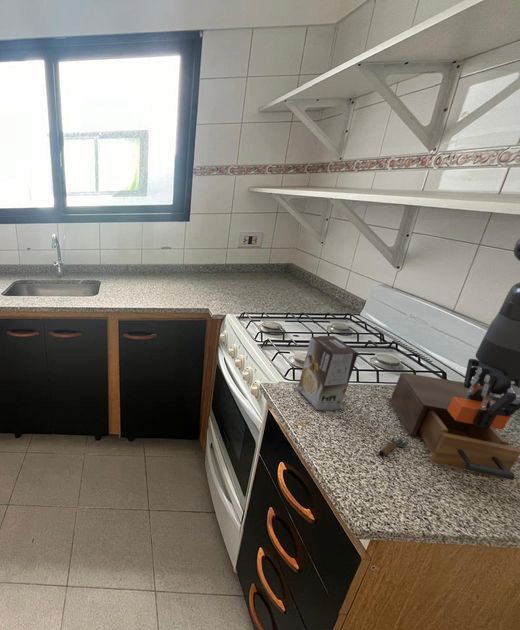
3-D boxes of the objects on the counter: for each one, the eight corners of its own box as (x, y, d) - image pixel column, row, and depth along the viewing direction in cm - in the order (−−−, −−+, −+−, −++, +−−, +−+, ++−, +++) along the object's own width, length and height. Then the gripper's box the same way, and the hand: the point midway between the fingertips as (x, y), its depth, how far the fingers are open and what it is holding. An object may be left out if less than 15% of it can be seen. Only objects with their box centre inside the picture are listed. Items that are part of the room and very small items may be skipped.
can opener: (383, 457, 71) (385, 453, 71) (371, 449, 73) (373, 445, 73) (410, 445, 74) (412, 441, 74) (398, 438, 76) (400, 434, 76)
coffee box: (341, 409, 85) (360, 353, 79) (316, 410, 85) (333, 354, 79) (318, 387, 94) (334, 335, 87) (295, 388, 94) (309, 335, 87)
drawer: (521, 500, 61) (541, 472, 58) (443, 481, 65) (458, 454, 62) (469, 435, 76) (483, 410, 73) (408, 422, 80) (418, 398, 77)
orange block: (492, 418, 68) (500, 404, 66) (503, 430, 65) (511, 415, 63) (446, 410, 70) (453, 396, 69) (455, 420, 67) (462, 406, 66)
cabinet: (481, 451, 73) (499, 419, 69) (410, 436, 77) (424, 404, 73) (450, 411, 84) (464, 382, 81) (389, 400, 88) (401, 372, 85)
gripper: (578, 365, 53) (524, 450, 60) (518, 328, 65) (479, 402, 72) (512, 356, 56) (468, 438, 63) (467, 322, 68) (433, 394, 75)
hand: (474, 418), depth 67 cm, fingers closed on orange block, 3 cm apart
